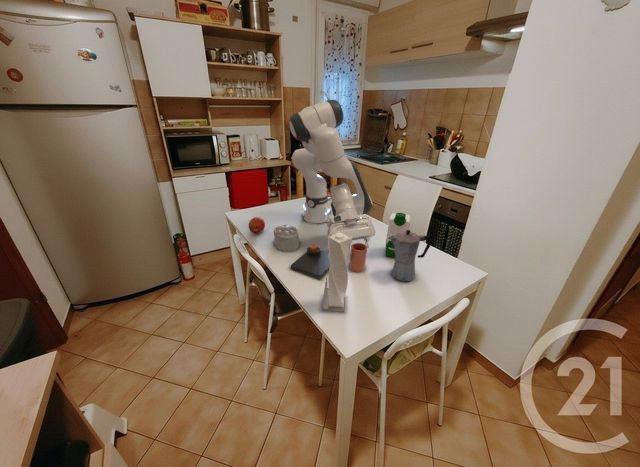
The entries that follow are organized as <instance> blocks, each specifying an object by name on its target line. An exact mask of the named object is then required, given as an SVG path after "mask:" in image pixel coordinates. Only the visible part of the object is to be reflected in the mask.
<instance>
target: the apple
mask: <svg viewBox="0 0 640 467" xmlns="http://www.w3.org/2000/svg"><path fill="white" fill-rule="evenodd" d="M265 228H266V223H265V220H264V219H263V218H261V217H259V216H254V217H253V218H251V219H250V220H249V222H248V229H249V231H250V232H251V233H252V234H260V233H262V232H263V231H264V229H265Z"/></svg>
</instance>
